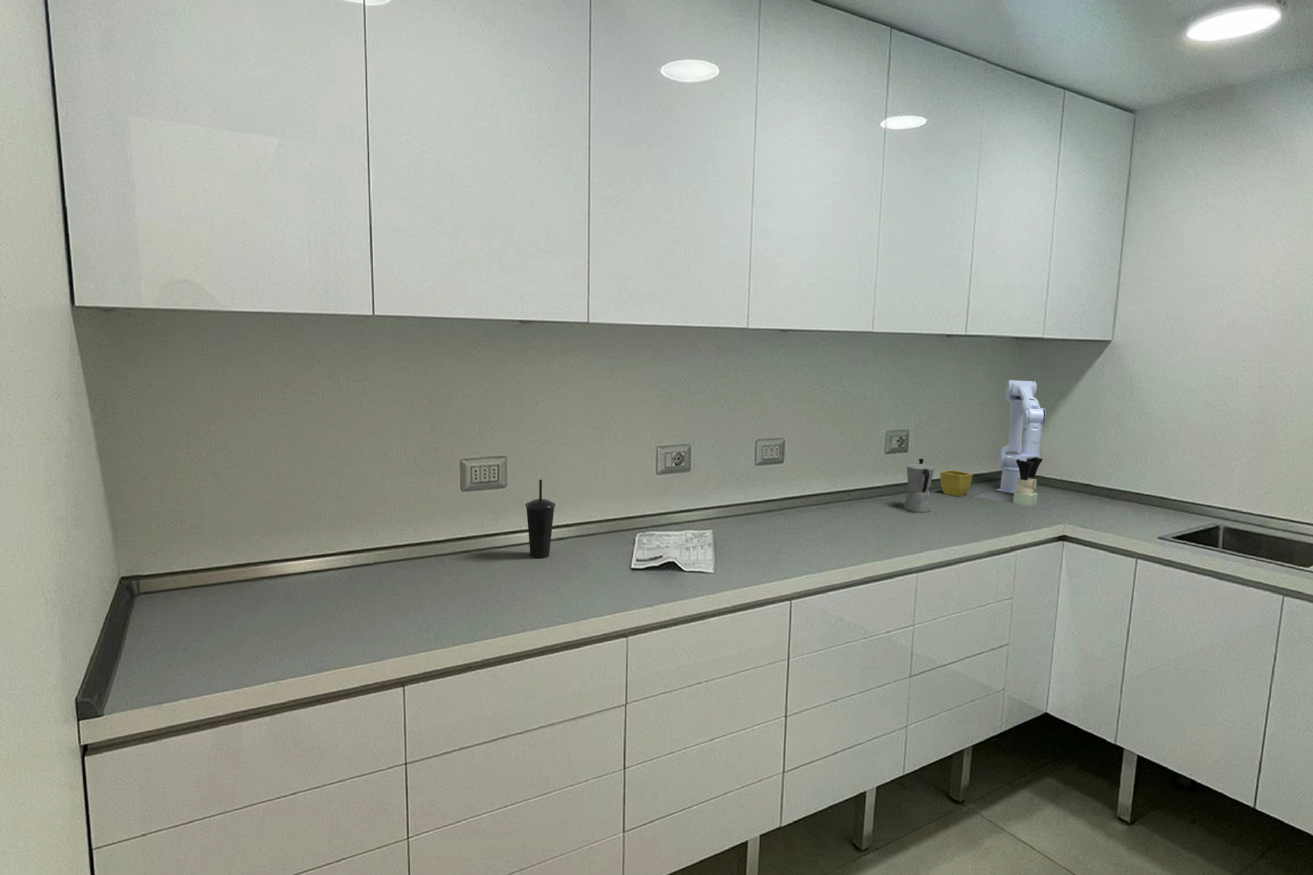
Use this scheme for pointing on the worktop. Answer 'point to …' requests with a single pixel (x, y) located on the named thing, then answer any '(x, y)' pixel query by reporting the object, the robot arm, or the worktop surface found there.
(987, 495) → the play mat
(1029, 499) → the sage brick
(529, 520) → the drinking cup
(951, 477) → the flower pot
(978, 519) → the worktop surface
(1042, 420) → the robot arm
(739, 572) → the worktop surface
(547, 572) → the worktop surface
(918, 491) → the coffeepot
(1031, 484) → the birch block
